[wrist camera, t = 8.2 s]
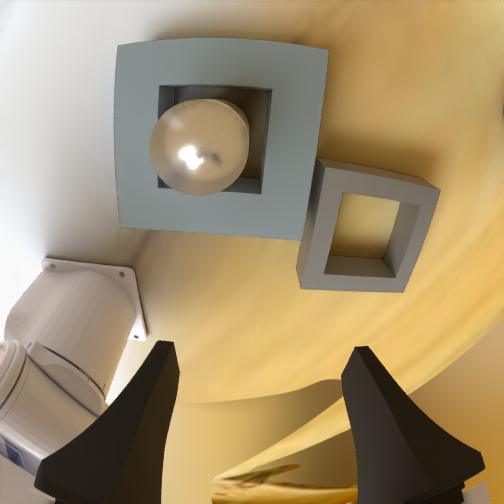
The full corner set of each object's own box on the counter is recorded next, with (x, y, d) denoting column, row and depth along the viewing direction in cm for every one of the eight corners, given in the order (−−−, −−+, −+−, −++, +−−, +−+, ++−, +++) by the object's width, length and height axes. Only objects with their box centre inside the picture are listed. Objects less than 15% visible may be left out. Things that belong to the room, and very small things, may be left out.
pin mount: (295, 267, 20) (300, 288, 18) (315, 157, 16) (325, 167, 14) (391, 273, 21) (403, 292, 19) (421, 178, 17) (440, 190, 15)
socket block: (137, 208, 18) (120, 227, 15) (138, 52, 13) (117, 45, 10) (293, 218, 19) (300, 240, 16) (315, 58, 13) (329, 50, 11)
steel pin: (182, 163, 17) (152, 195, 11) (183, 99, 15) (148, 101, 9) (247, 164, 17) (245, 198, 12) (251, 100, 15) (251, 100, 10)
